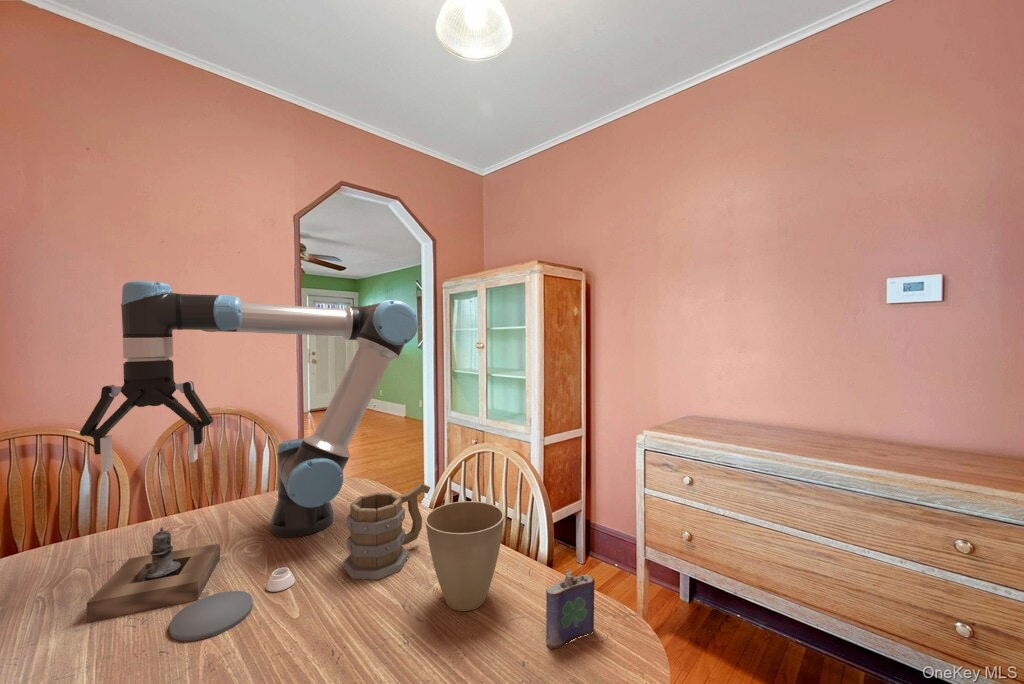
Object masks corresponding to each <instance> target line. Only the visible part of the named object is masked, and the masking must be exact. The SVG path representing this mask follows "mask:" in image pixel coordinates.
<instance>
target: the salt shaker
mask: <svg viewBox="0 0 1024 684" xmlns="http://www.w3.org/2000/svg"><path fill="white" fill-rule="evenodd" d="M173 549H174V546H172V534H171V532H170V531H168V530H164V527H160V528H159V531H158V532H156V533H155V534H154V535H153V536H152V550H151V551H150V552H149V555H152V565H151V567H150V568H149V569H147V570H146V571H144V572H143V574H142V576H143V577H144V578H145V581H148V580H154V579H159V578H165V577H170V576H176V575H177V572H178V570H179V567H180V566H181V564H180V563H179V562H177V561H172V558H171V552H172V550H173Z"/></svg>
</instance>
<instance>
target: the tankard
mask: <svg viewBox="0 0 1024 684" xmlns="http://www.w3.org/2000/svg"><path fill="white" fill-rule="evenodd" d="M430 490H431V487H430V486H429V485H427V484H424V483H421V482H419V484H416V486H414V488H411V490H409V491H408V492H406V493H403V494H399V495H397V494H396V493H394V492H374V493H369V494H364V495H361V496H358V497H357V498H356V499H354V501H352V503H351V502H350V505H349V506H350V507H349V508H350V509H349V513H348V515H346V526H347V528H348V529H349V531H350V532H349V536H348V538H346V549H347V550H348V551H349V555H348V556H347V558H345V559H344V561H343V563H342V565H343V567H342V568H343V569H344V570H345V572H346V574H348V575H349V577H350V578H351V579H353V580H365V579H369V581H377V580H380V578H381V579H383V578H385V576H386V577H388V576H391V575H393V574H395V572H396V573H398V572H400V571H401V570H402V569H403V567H404V565H405V564H406V562H407V560H408V559H407V558H409V550H407V549H406V548H405V547H404V546H405V545H408V544H409V543H411V542H412V543H413V541H415V540H417V539H418V537H419V536H420V535H419V534H420V532H421V530H422V528H423V515H422V514H421V512H420V509H419V502H418V497H419V496H420V494H421V493H425V494H429V491H430ZM406 502H407V507H408V508H407V509H408V513H409V515H410V517H411V520H412V523H411V524H412V526H411V529H410V531H409V532H407V533H406V530H405V529H404V528H403V521H404V520H405V519H406V508H404V507H403V504H405V503H406ZM405 561H406V562H405ZM404 563H405V564H404ZM401 568H402V569H401ZM399 570H400V571H399ZM397 571H398V572H397ZM392 573H393V574H392ZM390 574H391V575H390ZM387 575H388V576H387Z"/></svg>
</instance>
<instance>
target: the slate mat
mask: <svg viewBox="0 0 1024 684" xmlns="http://www.w3.org/2000/svg"><path fill="white" fill-rule="evenodd" d="M253 600H254V599H253V596H252V595H251V594H250V593H249V592H247V591H242V590H229V591H228V590H227V591H222V592H218V593H214V594H210V595H207V596H205V597H202V598H199V599H198V600H195V601H192V603H189V604H188V605H186V606H185V607H184V608H182V609H180V610H179V611H178V612H177V613H176V614H175V615H174V616H173V617H172V619H171V620H170V622H169V626H168V627H169V635H170V638H172V639H174V640H175V641H180V642H194V641H201V640H204V639H209V638H211V637H215V636H218V635H220V634H221V633H225V632H227V631H228V630H230V629H233V628H234V627H235V626H237V625H239V624H240V623H242V621H243V620H245V619H246V618H247V617H248V616H249V614H250V613H251V612H252V610H253V605H254V604H253V603H254V601H253Z"/></svg>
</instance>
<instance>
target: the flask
mask: <svg viewBox="0 0 1024 684" xmlns="http://www.w3.org/2000/svg"><path fill="white" fill-rule="evenodd" d="M562 574H565V577H564V580H563V579H562V580H561V581H558V582H556V583H555V584H552V585H550V586H548V587H547V588H546V590H545V591H546V593H545V596H546V602H545V603H546V605H545V606H546V609H545V610H546V611H545V613H546V615H545V618H546V621H545V624H546V627H545V628H546V632H545V633H546V634H545V641H546V645H548V647H549V649H550V650H552V649H559V647H560V648H562V647H563V646H565V645H567V644H566V643H569V642H570V641H571V640H573V639H575V638H578V637H580V636H584V635H587V634H591V633H592V632H593V631H595V619H594V618H595V583H596V582H595V579H594V577H592V576H590V575H589V574H584V575H583V574H580V575H579V576H575V575H573V571H571V569H566V570H564V571H563V573H562ZM593 633H594V632H593ZM578 639H579V638H578ZM569 644H570V643H569ZM561 646H562V647H561Z"/></svg>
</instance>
